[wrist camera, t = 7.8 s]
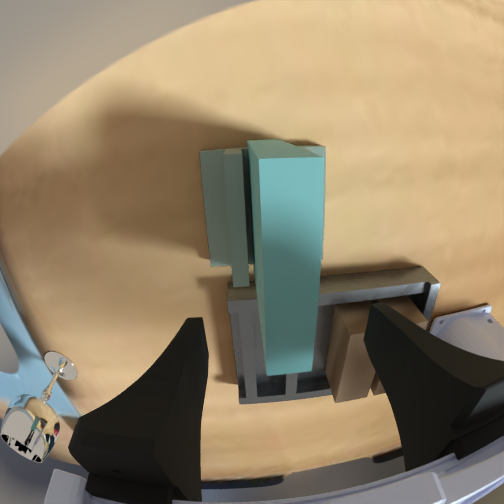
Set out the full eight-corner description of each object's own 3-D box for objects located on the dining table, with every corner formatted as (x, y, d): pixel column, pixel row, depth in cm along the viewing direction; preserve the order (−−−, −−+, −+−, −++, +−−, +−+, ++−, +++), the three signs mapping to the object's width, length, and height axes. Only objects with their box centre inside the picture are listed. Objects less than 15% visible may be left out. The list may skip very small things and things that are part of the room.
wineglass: (54, 381, 28) (20, 457, 17) (32, 346, 25) (-15, 424, 15) (91, 384, 28) (59, 471, 17) (68, 347, 25) (22, 437, 14)
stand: (321, 145, 19) (340, 151, 15) (319, 253, 22) (334, 279, 19) (201, 150, 19) (192, 157, 15) (211, 260, 22) (207, 288, 18)
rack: (423, 266, 23) (440, 283, 21) (395, 363, 28) (406, 382, 26) (227, 283, 23) (226, 305, 20) (239, 385, 28) (239, 408, 25)
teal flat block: (278, 139, 18) (323, 157, 9) (281, 268, 22) (311, 370, 12) (246, 140, 18) (258, 158, 9) (253, 270, 22) (266, 375, 12)
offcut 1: (368, 299, 23) (387, 328, 20) (354, 366, 27) (366, 397, 23) (334, 303, 23) (350, 334, 20) (325, 371, 26) (335, 403, 23)
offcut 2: (405, 294, 23) (427, 321, 20) (387, 360, 27) (402, 388, 23) (376, 298, 23) (396, 327, 20) (360, 365, 27) (373, 395, 23)
